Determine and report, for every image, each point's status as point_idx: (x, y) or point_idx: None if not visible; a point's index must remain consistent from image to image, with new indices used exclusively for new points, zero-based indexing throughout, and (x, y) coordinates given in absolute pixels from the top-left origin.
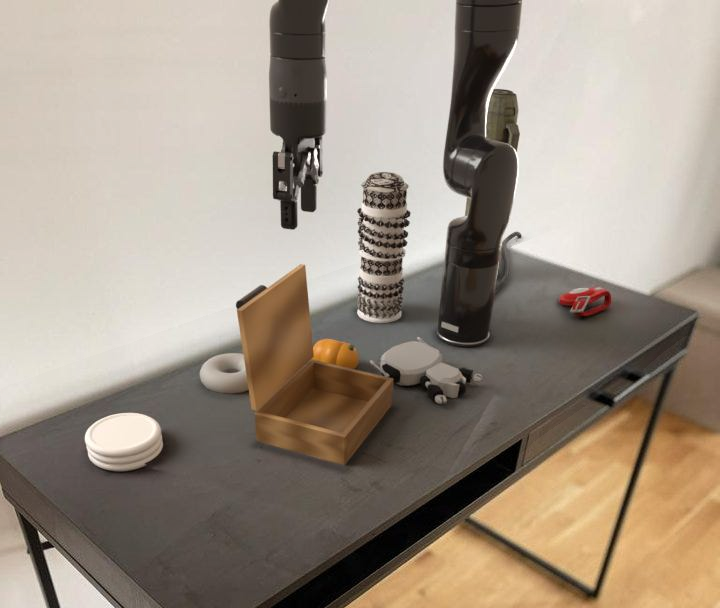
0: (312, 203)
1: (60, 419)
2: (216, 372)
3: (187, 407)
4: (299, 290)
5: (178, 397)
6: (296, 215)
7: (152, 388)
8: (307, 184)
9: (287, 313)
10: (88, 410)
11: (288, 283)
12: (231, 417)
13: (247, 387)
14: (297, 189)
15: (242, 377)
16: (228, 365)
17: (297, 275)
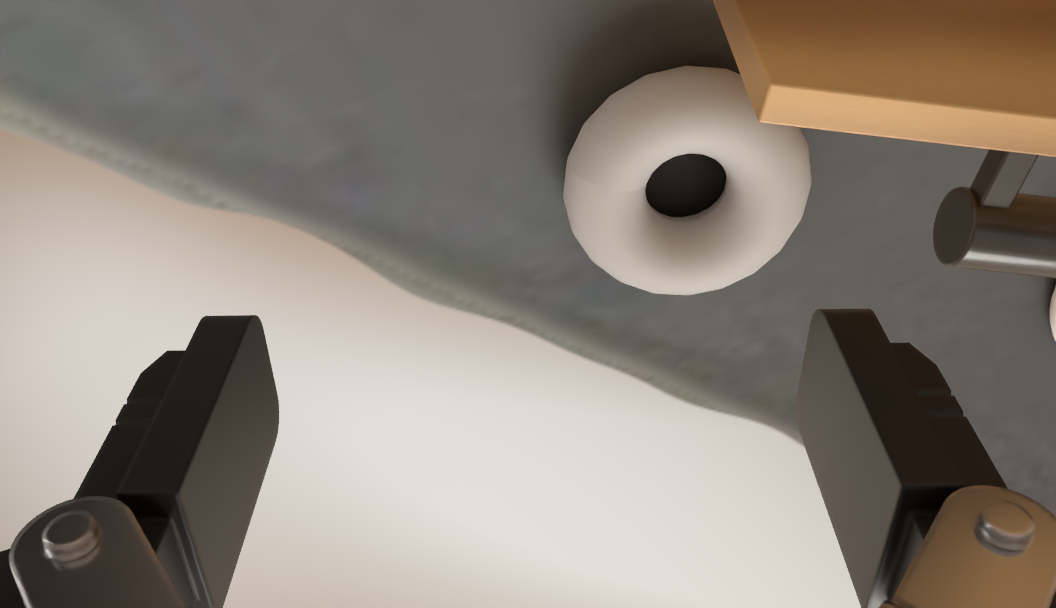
0: (239, 380)
1: None
2: (769, 228)
3: (877, 235)
4: (857, 30)
5: (817, 285)
6: (883, 381)
7: (774, 372)
8: (180, 577)
9: (1014, 17)
10: None
11: (1039, 94)
12: None
13: None
14: (979, 605)
15: (776, 128)
16: (651, 217)
17: (898, 82)
